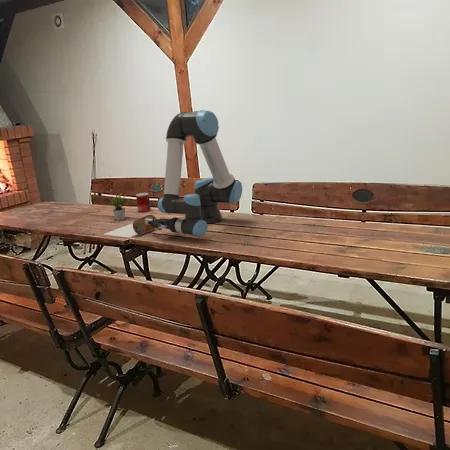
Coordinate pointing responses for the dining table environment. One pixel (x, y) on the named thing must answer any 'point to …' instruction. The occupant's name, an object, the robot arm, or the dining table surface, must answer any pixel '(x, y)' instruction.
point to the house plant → (118, 207)
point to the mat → (123, 232)
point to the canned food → (143, 202)
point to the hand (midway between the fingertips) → (145, 221)
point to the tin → (143, 225)
